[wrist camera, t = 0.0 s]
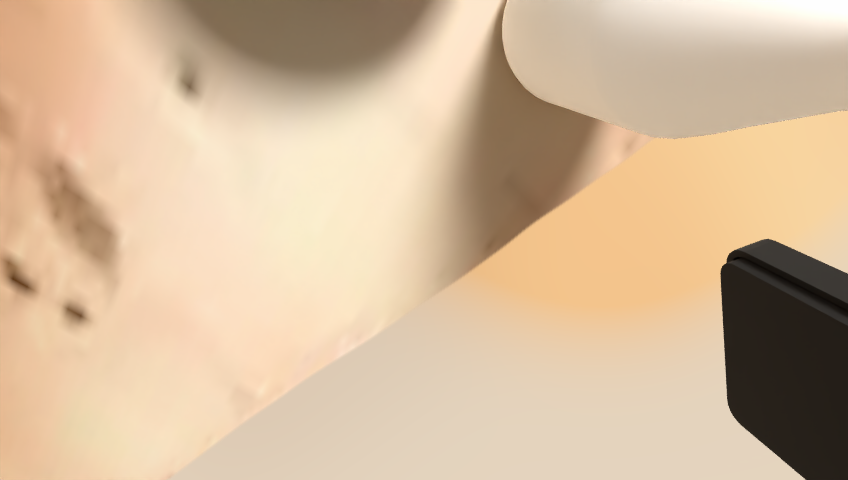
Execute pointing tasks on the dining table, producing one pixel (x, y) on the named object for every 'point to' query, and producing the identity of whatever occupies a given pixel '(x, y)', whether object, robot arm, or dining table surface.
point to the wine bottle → (682, 60)
